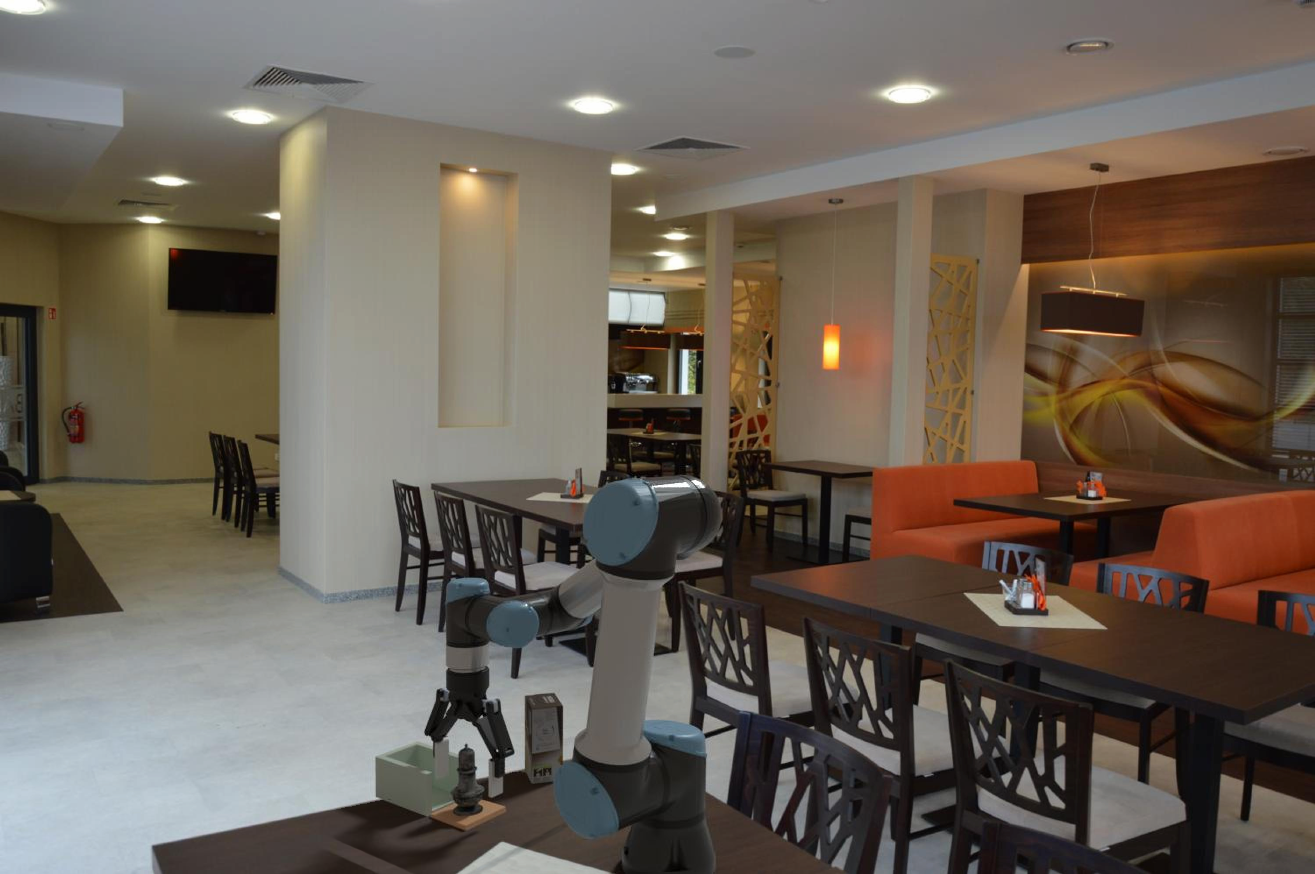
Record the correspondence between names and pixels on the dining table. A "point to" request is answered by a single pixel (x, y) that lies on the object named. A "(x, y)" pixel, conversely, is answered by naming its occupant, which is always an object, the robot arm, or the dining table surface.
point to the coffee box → (543, 736)
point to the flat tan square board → (469, 821)
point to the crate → (415, 779)
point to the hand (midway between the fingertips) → (468, 785)
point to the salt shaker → (467, 785)
